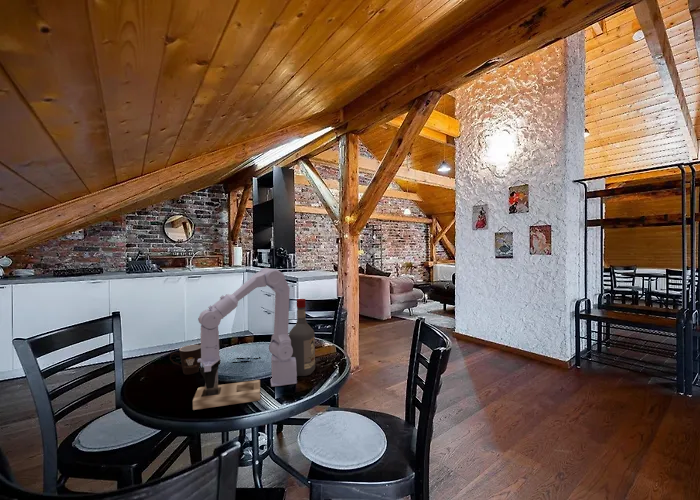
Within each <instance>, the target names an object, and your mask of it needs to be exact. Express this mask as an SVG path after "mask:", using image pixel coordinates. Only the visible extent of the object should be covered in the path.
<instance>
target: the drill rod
mask: <svg viewBox="0 0 700 500" xmlns="http://www.w3.org/2000/svg"><path fill="white" fill-rule="evenodd" d="M212 367H217V366H212ZM218 371H219V369H218V370H217V372H216V376H215V384H214V388H208V389H207V387H206V384H205V383H204V387H205V396H211V395H218V385H219V373H218Z"/></svg>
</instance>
